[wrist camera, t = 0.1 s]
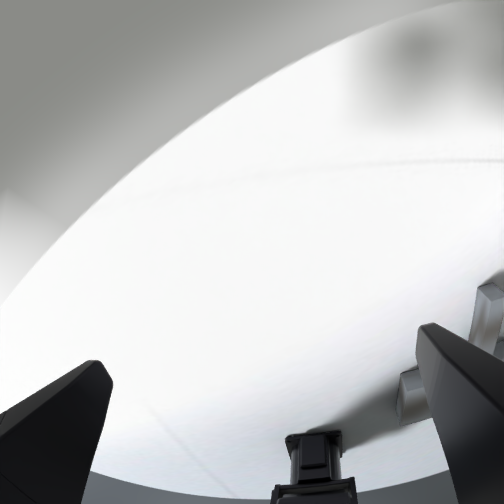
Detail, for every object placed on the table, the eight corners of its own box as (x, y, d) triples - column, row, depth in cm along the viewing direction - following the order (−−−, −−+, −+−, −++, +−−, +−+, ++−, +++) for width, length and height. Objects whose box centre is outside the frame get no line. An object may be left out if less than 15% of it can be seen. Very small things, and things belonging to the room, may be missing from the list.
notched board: (531, 359, 23) (539, 371, 21) (395, 409, 27) (400, 426, 25) (558, 260, 19) (572, 270, 16) (405, 306, 22) (415, 323, 20)
